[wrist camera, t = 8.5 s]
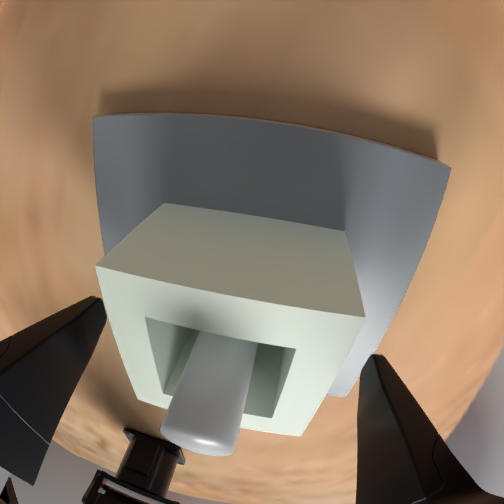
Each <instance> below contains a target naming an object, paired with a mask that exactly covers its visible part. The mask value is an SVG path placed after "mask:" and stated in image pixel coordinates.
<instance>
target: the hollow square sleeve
mask: <svg viewBox="0 0 504 504" xmlns="http://www.w3.org/2000/svg"><path fill="white" fill-rule="evenodd" d="M95 268H96V272H97V277H98V281H99V285H100V289H101V293H102V297H103V300H104V304H105V308H106V311H107V315H108V318H109V321H110V325H111V328H112V331H113V334H114V337H115V340H116V343H117V346H118V349H119V352H120V355H121V358H122V361H123V363H124V366H125V369H126V371H127V374H128V377H129V379H130V382H131V384H132V387H133V389H134V391H135V394H136V396H137V399H138V400H141V401H143V402H146V403H149V404H152V405H155V406H158V407H161V408H164V409H168V407H169V404H170V402H171V400H172V397H173V395H174V392H175V390H176V387H177V385H178V383H179V380H180V378H181V375H182V373H183V370H184V368H185V366H186V363H187V361H188V358H189V356H190V354H191V351H192V349H193V346H194V344H195V342H196V339H197V337H198V335H199V332H200V331H204V332H209V333H213V334H218V335H223V336H227V337H232V338H237V339H243V340H248V341H253V342H258V346H257V351H256V355H255V360H254V365H253V370H252V374H251V379H250V384H249V388H248V393H247V397H246V402H245V406H244V411H243V415H242V420H241V424H240V428H245V429H250V430H256V431H262V432H269V433H276V434H284V435H292V436H301V435H302V433H303V431H304V430H305V428H306V427H307V425H308V424H309V422H310V421H311V419H312V417H313V416H314V414H315V412H316V411H317V409H318V408H319V406H320V404H321V402H322V401H323V399H324V397H325V396H326V394H327V392H328V390H329V389H330V387H331V385H332V383H333V382H334V380H335V378H336V376H337V374H338V372H339V371H340V369H341V367H342V365H343V363H344V361H345V359H346V357H347V355H348V353H349V351H350V349H351V347H352V345H353V343H354V341H355V339H356V337H357V335H358V333H359V331H360V329H361V327H362V324H363V322H364V320H365V318H366V317H365V312H364V307H363V303H362V298H361V293H360V289H359V285H358V280H357V276H356V272H355V268H354V264H353V260H352V256H351V252H350V249H349V245H348V241H347V237H346V234H345V231H340V230H335V229H329V228H324V227H318V226H313V225H307V224H301V223H295V222H290V221H284V220H278V219H271V218H265V217H259V216H253V215H246V214H240V213H233V212H227V211H220V210H213V209H206V208H199V207H192V206H184V205H177V204H169V203H163V204H162V205H161V206H160V207H159V208H157V209H156V210H155V211H154V212H153V213H152V214H150V215H149V216H148V217H147V218H146V219H145V220H144V221H142V222H141V223H140V224H139V225H138V226H137V227H136V228H134V229H133V230H132V231H131V232H130V233H129V234H128V235H127V236H126V237H124V238H123V239H122V240H121V241H120V242H119V243H118V244H117V245H116V246H115V247H114V248H113V249H112V250H111V251H109V252H108V253H107V254H106V255H105V256H104V257H103V258H102V259H101V260H100V261H99V262H98V263H97V264H96V265H95Z"/></svg>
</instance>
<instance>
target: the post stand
mask: <svg viewBox="0 0 504 504" xmlns="http://www.w3.org/2000/svg"><path fill="white" fill-rule="evenodd" d="M93 150H94V169H95V182H96V194H97V203H98V212H99V220H100V227H101V234H102V240H103V247H104V252H105V255H106V254H107V253H108V252H109V251H111V250H112V249H113V248H114V247H115V246H116V245H117V244H118V243H119V242H120V241H121V240H122V239H123V238H124V237H126V236H127V235H128V234H129V233H130V232H131V231H132V230H133V229H134V228H136V227H137V226H138V225H139V224H140V223H141V222H142V221H144V220H145V219H146V218H147V217H148V216H149V215H150V214H152V213H153V212H154V211H155V210H156V209H157V208H159V207H160V206H161V205H162V204H163V203H169V204H177V205H184V206H192V207H199V208H206V209H213V210H220V211H227V212H233V213H240V214H246V215H253V216H259V217H265V218H271V219H278V220H284V221H290V222H295V223H301V224H307V225H313V226H318V227H324V228H329V229H335V230H340V231H345V234H346V237H347V241H348V245H349V249H350V252H351V256H352V260H353V264H354V268H355V272H356V276H357V280H358V285H359V289H360V293H361V298H362V303H363V307H364V312H365V317H366V318H365V320H364V322H363V324H362V327H361V329H360V331H359V333H358V335H357V337H356V339H355V341H354V343H353V345H352V347H351V349H350V351H349V353H348V355H347V357H346V359H345V361H344V363H343V365H342V367H341V369H340V371H339V372H338V374H337V376H336V378H335V380H334V382H333V383H332V385H331V387H330V389H329V390H328V392H327V394H326V395H329V396H341V397H346V396H347V395H348V393H349V392H350V390H351V389H352V387H353V386H354V384H355V383H356V381H357V379H358V378H359V376H360V373H361V370H362V368H363V366H364V365H365V363H366V361H367V360H368V358H369V356H370V355H372V354H374V352H375V350H376V348H377V347H378V345H379V343H380V341H381V340H382V338H383V336H384V334H385V332H386V331H387V329H388V327H389V325H390V323H391V321H392V319H393V317H394V315H395V314H396V312H397V310H398V308H399V306H400V304H401V302H402V299H403V297H404V295H405V293H406V291H407V289H408V287H409V285H410V282H411V280H412V278H413V276H414V273H415V271H416V269H417V267H418V264H419V262H420V259H421V257H422V255H423V252H424V250H425V247H426V244H427V242H428V239H429V237H430V234H431V231H432V228H433V226H434V223H435V220H436V217H437V214H438V211H439V208H440V205H441V202H442V199H443V196H444V192H445V189H446V186H447V182H448V178H449V175H450V171H451V167H449V166H448V165H446V164H444V163H442V162H440V161H438V160H435V159H433V158H430V157H427V156H424V155H421V154H418V153H415V152H411V151H408V150H405V149H402V148H398V147H395V146H392V145H388V144H384V143H381V142H377V141H373V140H369V139H365V138H361V137H357V136H353V135H349V134H344V133H340V132H335V131H330V130H325V129H320V128H315V127H310V126H304V125H298V124H292V123H286V122H279V121H272V120H264V119H256V118H247V117H237V116H226V115H212V114H194V113H120V114H107V115H102V116H97V117H93ZM257 346H258V342H253V341H248V340H243V339H237V338H232V337H227V336H223V335H218V334H213V333H209V332H204V331H200V332H199V335H198V337H197V339H196V342H195V344H194V346H193V349H192V351H191V354H190V356H189V358H188V361H187V363H186V366H185V368H184V370H183V373H182V375H181V378H180V380H179V383H178V385H177V387H176V390H175V392H174V395H173V397H172V400H171V402H170V404H169V407H168V409H167V412H166V414H165V417H164V419H163V422H162V424H161V427H160V432H161V434H162V435H163V436H164V437H165V438H167V439H168V440H169V441H171V442H172V443H174V444H176V445H178V446H180V447H182V448H185V449H187V450H190V451H193V452H196V453H200V454H205V455H211V456H227V455H231V454H233V453H234V450H235V446H236V442H237V437H238V433H239V429H240V424H241V420H242V415H243V411H244V406H245V402H246V397H247V393H248V388H249V384H250V379H251V374H252V370H253V365H254V360H255V355H256V351H257Z"/></svg>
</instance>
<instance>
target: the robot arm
mask: <svg viewBox="0 0 504 504" xmlns="http://www.w3.org/2000/svg"><path fill="white" fill-rule="evenodd" d="M106 320H107V315H106V311H105V307H104V304H103V301H102V299H101V298H98V297H95V296H90V297H88V298H86V299H84V300H81V301H79V302H77V303H75V304H73V305H71V306H69V307H67V308H65V309H63V310H61V311H59V312H57V313H55V314H53V315H51V316H49V317H47V318H45V319H43V320H41V321H39V322H37V323H35V324H33V325H31V326H29V327H27V328H25V329H23V330H21V331H20V332H18V333H16V334H14V335H13V336H10V337H8V338H6V339H4V340H2V341H0V504H18V501H17V498H16V494H15V491H14V488H13V485H12V481H11V478H10V477H9V475H10V473H11V474H13V475H14V476H16V477H18V478H20V479H21V480H23V481H25V482H27V483H28V484H30V485H32V486H33V485H34V483H35V481H36V478H37V475H38V472H39V470H40V467H41V465H42V462H43V459H44V457H45V454H46V452H47V450H48V447H49V444H50V442H51V440H52V437H53V435H54V433H55V430H56V428H57V426H58V423H59V421H60V419H61V417H62V415H63V413H64V410H65V408H66V406H67V404H68V402H69V400H70V398H71V396H72V394H73V392H74V390H75V388H76V386H77V384H78V382H79V380H80V378H81V376H82V374H83V372H84V370H85V368H86V366H87V364H88V362H89V360H90V358H91V356H92V354H93V352H94V349H95V347H96V345H97V342H98V340H99V337H100V335H101V333H102V330H103V328H104V326H105V324H106ZM123 432H124V434H125V435H126V437H127V438H128V439H129V441H130V443H129V446H128V448H127V450H126V453H125V455H124V457H123V459H122V462H121V464H120V466H119V469H118V471H117V474H116V476H115V477H113V476H110V475H109V474H107V473H106V472H104V471H100V470H97V472H96V474H95V476H94V478H93V480H92V482H91V484H90V486H89V487H88V489H87V491H86V493H85V494H84V496H83V498H82V503H83V504H149V503H146V502H143V501H141V500H138V499H136V498H134V497H131V496H129V495H127V494H124V493H122V492H120V491H118V490H115V489H113V488H111V487H109V486H107V485H106V483H107V482H109V483H111V484H113V485H115V486H117V487H119V488H121V489H124V490H126V491H128V492H130V493H133V494H135V495H137V496H140V497H142V498H145V499H147V500H150V501H153V502H155V503H158V504H180V503H179V502H176V501H171V500H168V499H165V497H166V494H167V491H168V488H169V485H170V482H171V480H172V477H173V474H174V471H175V468H176V465H177V463H178V464H181V465H184V464H185V460H184V457H183V454H182V452H181V449H180V447H178V446H175V445H172V444H169V443H166V442H163V441H160V440H157V439H154V438H151V437H148V436H145V435H143V434H140V433H137V432H135V431H132V430H130V429H127V428H124V430H123ZM357 440H358V453H357V490H356V504H504V498H503V497H499V496H496V495H493V494H490V493H488V492H485V491H484V490H483V489H481V488H480V487H479V486H478V485H477V484H476V482H475V481H474V480H473V479H472V477H471V476H470V475H469V474H468V472H467V471H466V470H465V469H464V467H463V466H462V465H461V464H460V462H459V461H458V460H457V459H456V457H455V456H454V455H453V453H452V452H451V451H450V449H449V448H448V446H447V445H446V443H445V442H444V440H443V439H442V437H441V436H440V434H438V432H437V430H436V429H435V427H434V426H433V424H432V423H431V421H430V420H429V418H428V417H427V415H426V414H425V412H424V411H423V410H422V408H421V407H420V405H419V404H418V402H417V401H416V400H415V398H414V397H413V395H412V394H411V392H410V391H409V390H408V388H407V387H406V385H405V384H404V383H403V381H402V380H401V378H400V377H399V376H398V374H397V373H396V372H395V370H394V369H393V367H392V366H391V365H390V363H389V362H388V361H387V359H386V358H385V357H384V356H383V355H379V354H372V355H370V356H369V358H368V360H367V361H366V363H365V365H364V366H363V368H362V370H361V373H360V385H359V399H358V412H357ZM102 492H104V493H105V494H102Z"/></svg>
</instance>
